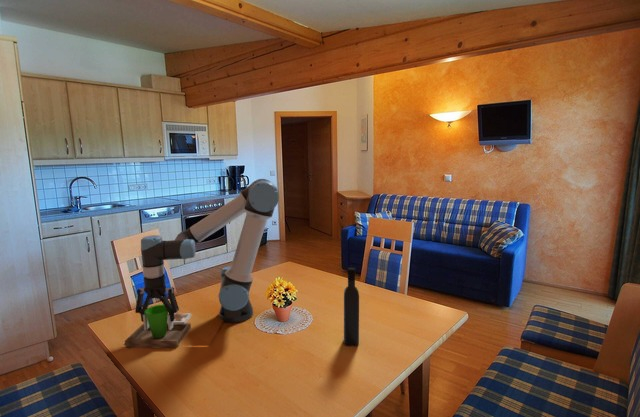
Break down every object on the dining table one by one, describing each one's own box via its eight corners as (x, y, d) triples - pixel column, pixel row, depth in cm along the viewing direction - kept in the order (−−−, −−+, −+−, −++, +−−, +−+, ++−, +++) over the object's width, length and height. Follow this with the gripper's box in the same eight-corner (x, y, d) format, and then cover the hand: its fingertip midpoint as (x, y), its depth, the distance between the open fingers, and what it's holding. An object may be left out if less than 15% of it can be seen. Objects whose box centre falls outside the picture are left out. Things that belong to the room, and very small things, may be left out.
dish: (191, 317, 158) (191, 313, 158) (184, 325, 150) (184, 321, 150) (174, 317, 158) (173, 313, 158) (166, 325, 150) (165, 322, 150)
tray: (191, 329, 147) (190, 323, 147) (177, 347, 133) (176, 340, 133) (144, 329, 148) (143, 323, 147) (125, 347, 134) (124, 340, 133)
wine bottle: (357, 338, 139) (358, 266, 134) (359, 346, 133) (359, 271, 128) (343, 338, 139) (343, 266, 134) (344, 346, 133) (344, 271, 128)
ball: (184, 318, 156) (184, 310, 155) (181, 322, 152) (180, 314, 152) (176, 318, 156) (176, 310, 155) (173, 322, 152) (172, 314, 152)
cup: (162, 341, 135) (159, 315, 133) (141, 339, 137) (139, 313, 135) (176, 330, 144) (174, 305, 142) (156, 328, 145) (154, 303, 144)
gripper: (185, 271, 140) (189, 324, 143) (132, 271, 140) (137, 324, 144) (177, 278, 132) (182, 333, 136) (121, 278, 133) (126, 333, 136)
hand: (158, 328), depth 140 cm, fingers closed on cup, 9 cm apart
